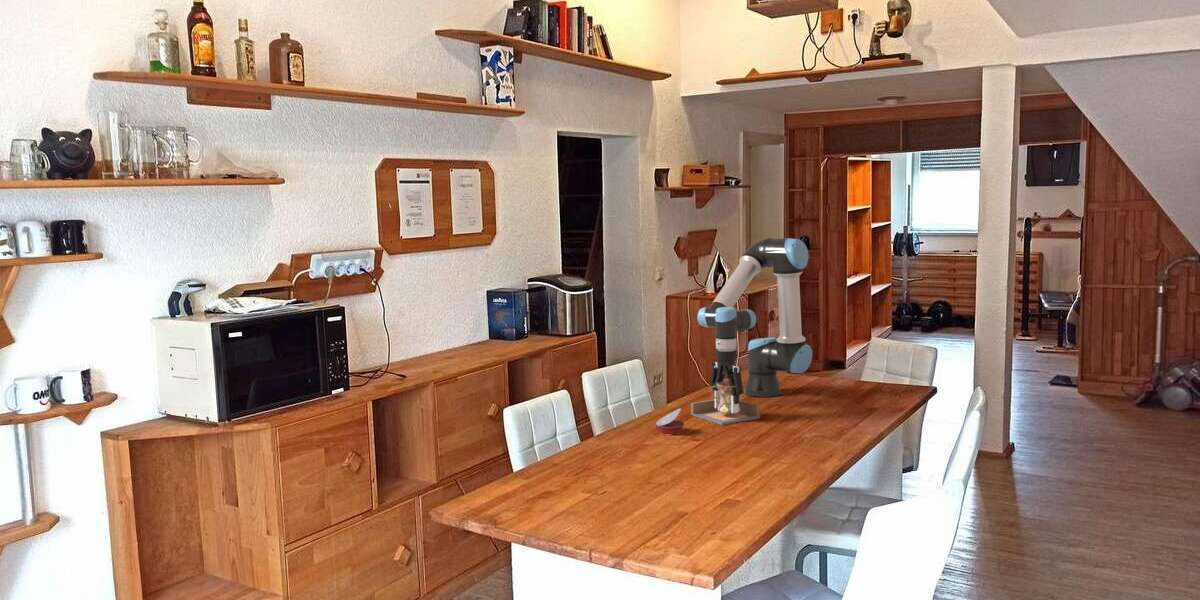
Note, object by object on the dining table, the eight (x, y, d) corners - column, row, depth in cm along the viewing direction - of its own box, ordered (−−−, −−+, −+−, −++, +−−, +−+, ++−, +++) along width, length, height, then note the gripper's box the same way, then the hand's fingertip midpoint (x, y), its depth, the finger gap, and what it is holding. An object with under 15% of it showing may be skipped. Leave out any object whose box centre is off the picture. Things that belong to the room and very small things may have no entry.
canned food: (676, 448, 316) (671, 426, 310) (652, 441, 321) (646, 419, 316) (693, 427, 322) (688, 406, 317) (669, 421, 328) (663, 399, 323)
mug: (744, 410, 339) (745, 382, 337) (737, 415, 330) (738, 387, 329) (713, 407, 344) (713, 379, 342) (706, 412, 335) (706, 384, 334)
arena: (728, 409, 351) (728, 396, 351) (759, 418, 336) (759, 405, 336) (690, 416, 342) (690, 402, 342) (721, 425, 327) (721, 411, 326)
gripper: (699, 346, 341) (700, 406, 344) (737, 354, 323) (737, 417, 326) (715, 345, 345) (715, 403, 348) (753, 352, 327) (753, 414, 329)
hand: (726, 410), depth 337 cm, fingers closed on mug, 9 cm apart
